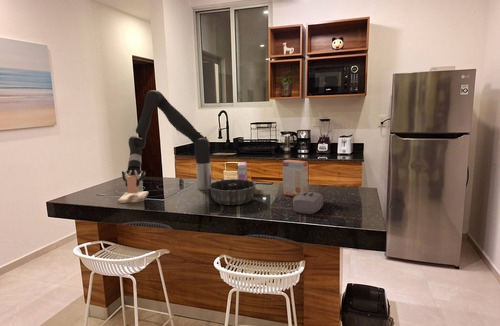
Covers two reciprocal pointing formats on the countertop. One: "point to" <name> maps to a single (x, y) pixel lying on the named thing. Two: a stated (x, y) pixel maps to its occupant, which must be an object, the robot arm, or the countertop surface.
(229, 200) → the bundt pan
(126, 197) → the birch board
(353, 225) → the countertop surface
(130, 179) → the terracotta block
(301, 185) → the cracker box
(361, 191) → the countertop surface
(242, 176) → the candy box
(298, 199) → the soft grey pack
